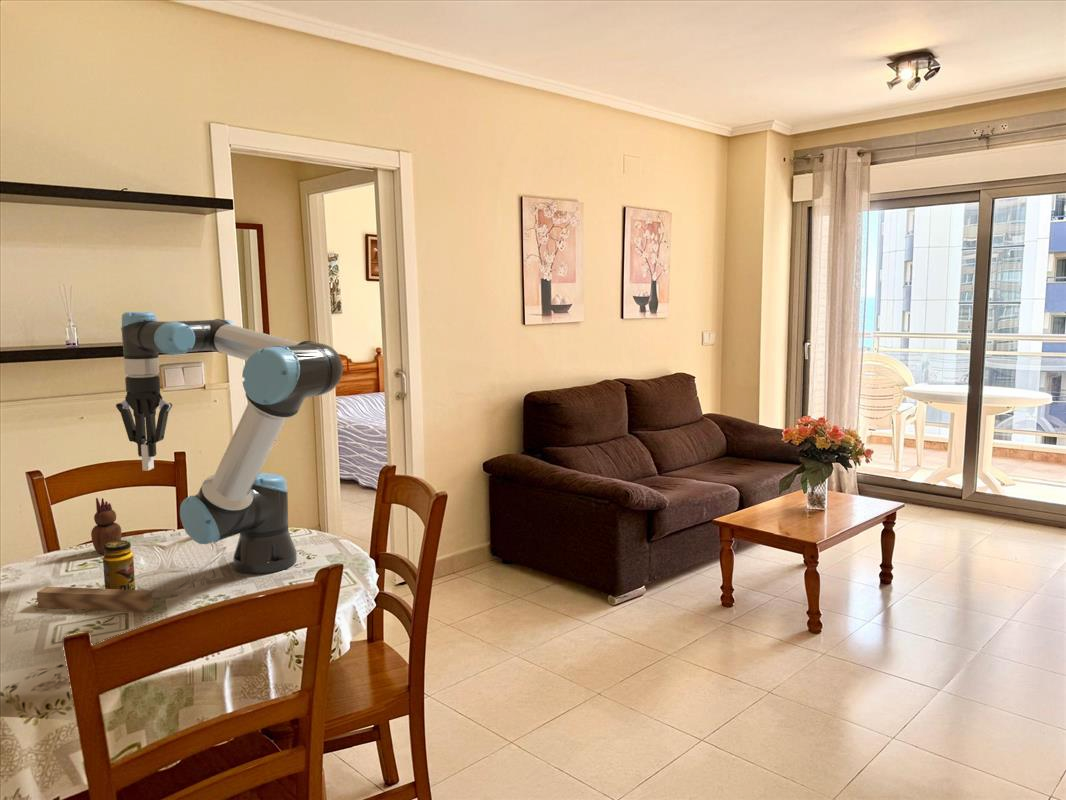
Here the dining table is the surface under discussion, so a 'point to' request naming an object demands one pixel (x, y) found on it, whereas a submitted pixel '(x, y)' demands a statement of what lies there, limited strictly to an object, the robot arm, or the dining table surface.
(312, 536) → the dining table surface
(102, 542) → the wooden figurine
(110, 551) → the condiment
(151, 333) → the robot arm
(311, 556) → the dining table surface
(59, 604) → the board
